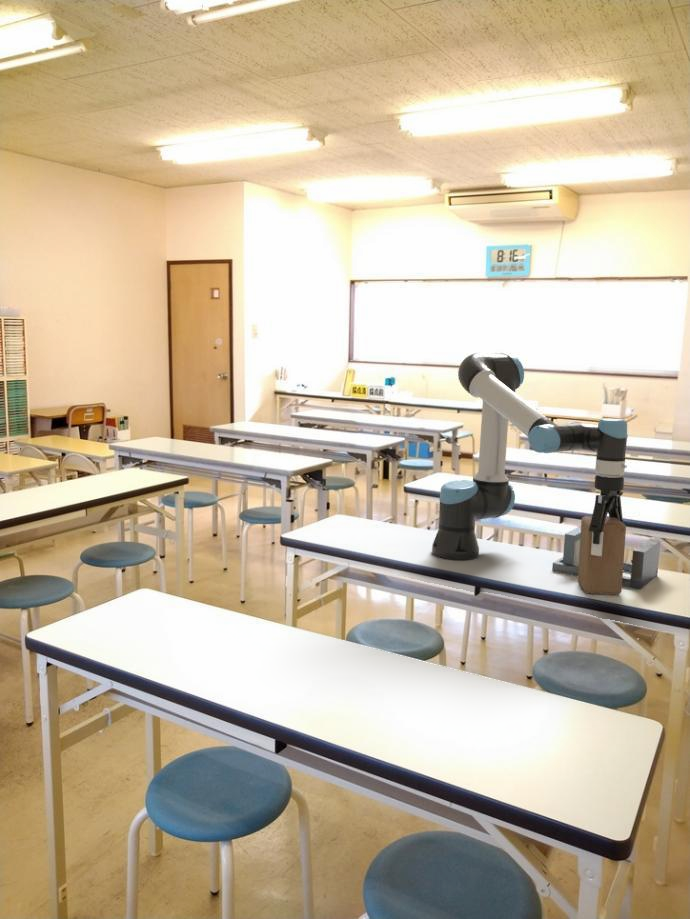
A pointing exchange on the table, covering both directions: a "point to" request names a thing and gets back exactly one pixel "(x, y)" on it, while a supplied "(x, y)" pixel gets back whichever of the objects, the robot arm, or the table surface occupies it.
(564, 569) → the vise bed
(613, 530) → the wooden block
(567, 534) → the block
